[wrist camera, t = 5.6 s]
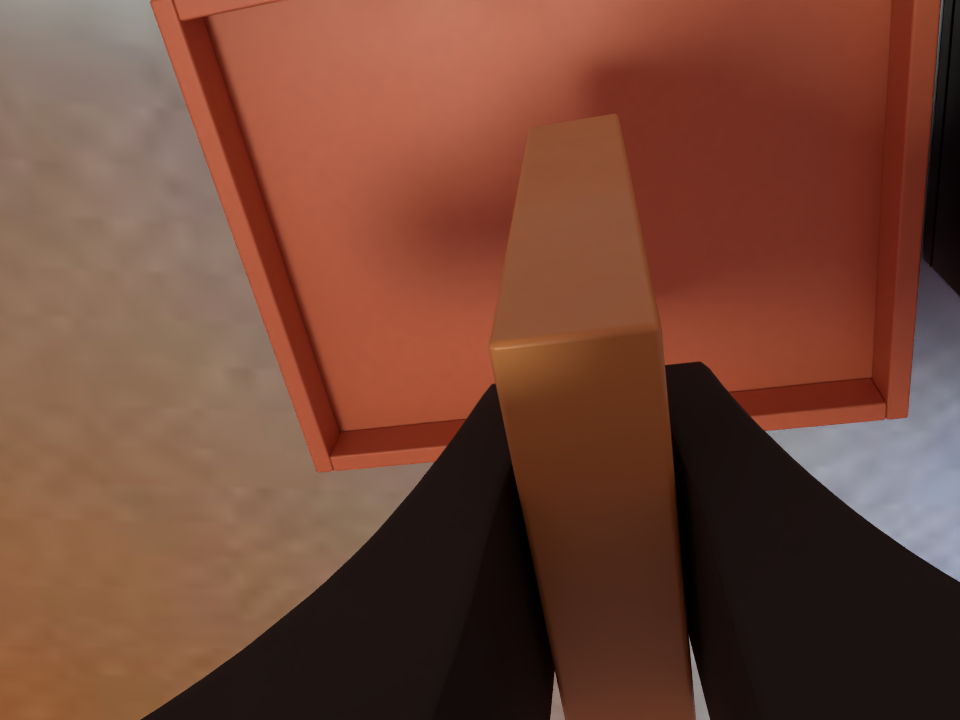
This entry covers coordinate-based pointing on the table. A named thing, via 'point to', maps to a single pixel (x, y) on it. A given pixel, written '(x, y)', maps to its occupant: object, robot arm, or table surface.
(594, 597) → the toast
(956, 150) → the toaster
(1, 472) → the table surface
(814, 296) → the red tray
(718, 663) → the robot arm
